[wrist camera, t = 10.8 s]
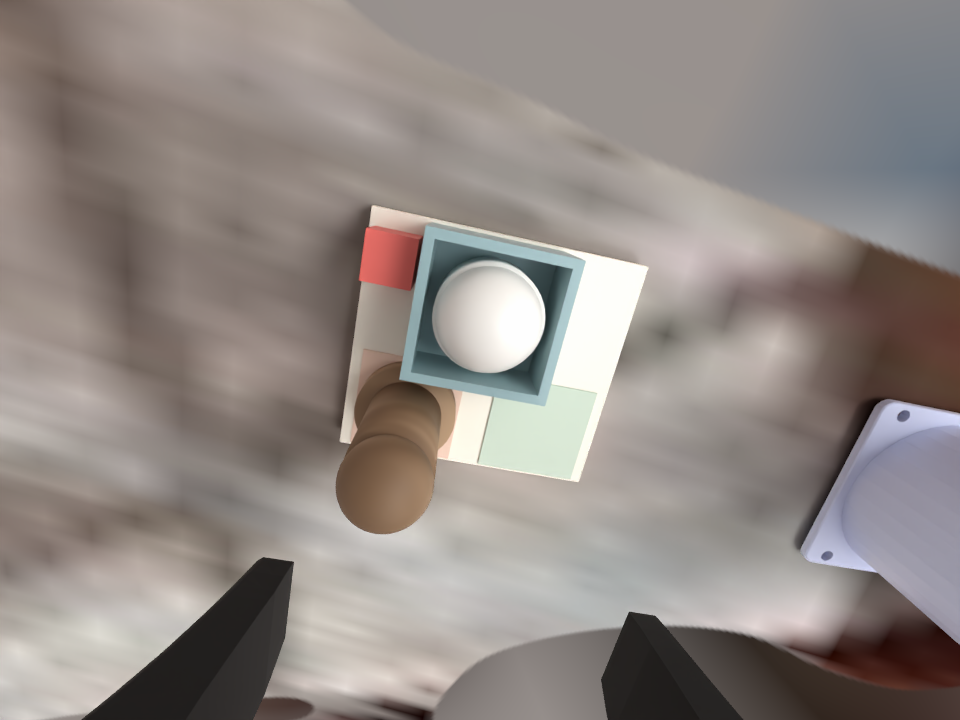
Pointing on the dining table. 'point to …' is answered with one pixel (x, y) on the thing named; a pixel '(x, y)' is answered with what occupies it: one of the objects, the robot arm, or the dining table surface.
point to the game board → (484, 419)
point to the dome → (488, 315)
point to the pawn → (393, 451)
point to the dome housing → (540, 264)
